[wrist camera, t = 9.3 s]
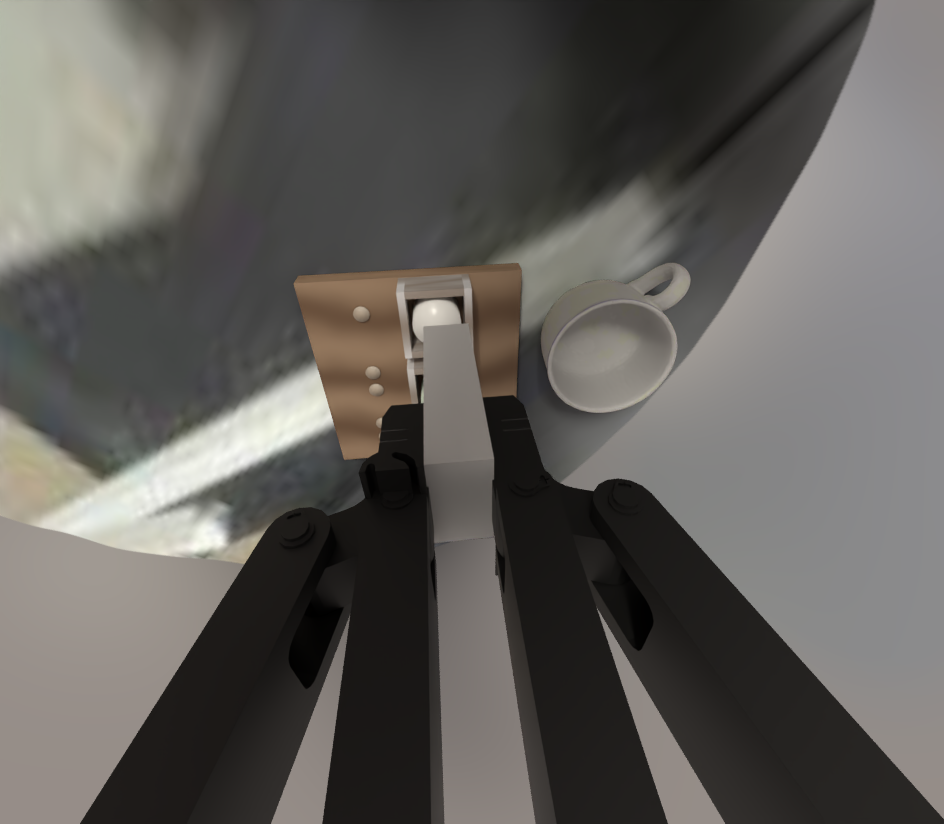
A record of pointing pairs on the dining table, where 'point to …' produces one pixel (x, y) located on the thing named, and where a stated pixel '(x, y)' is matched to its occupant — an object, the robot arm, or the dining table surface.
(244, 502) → the dining table surface
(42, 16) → the dining table surface
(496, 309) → the button board
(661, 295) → the teacup
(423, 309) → the button one
